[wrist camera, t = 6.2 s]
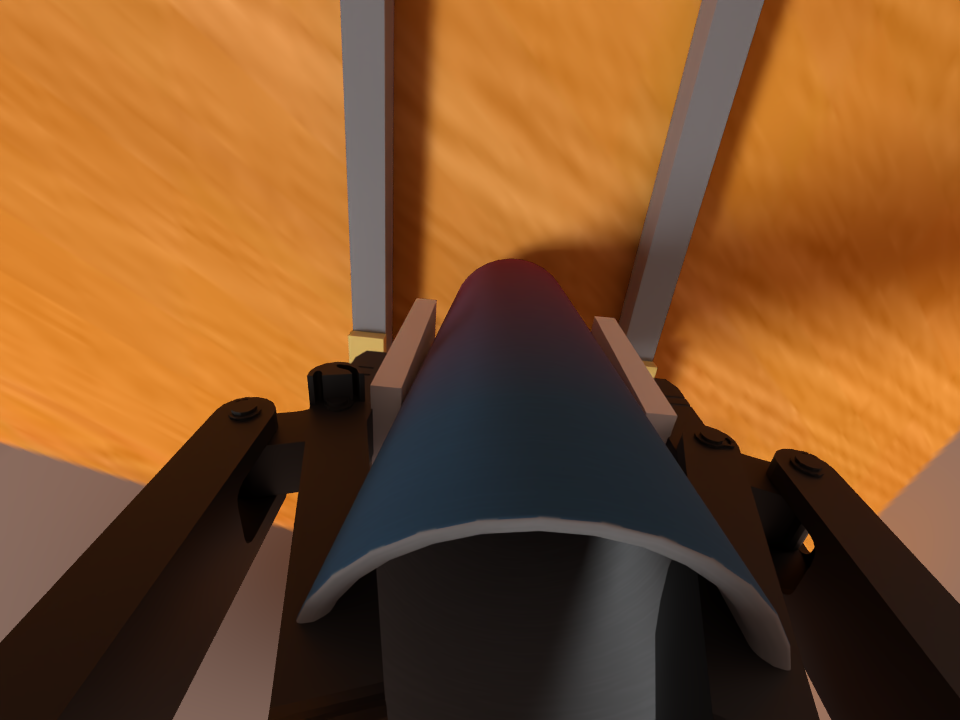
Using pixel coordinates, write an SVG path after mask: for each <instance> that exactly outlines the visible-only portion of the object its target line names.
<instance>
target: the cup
mask: <svg viewBox="0 0 960 720" xmlns="http://www.w3.org/2000/svg"><path fill="white" fill-rule="evenodd" d="M672 560H675V561H677V562H680V563H682V564H684V565H686V566H688V567H689V568H691V569H692V570H694V571H695V572H697V573H698V574H700V575H701V576H703V577H704V578H706V579H707V580H709V581H710V582H712V583H713V584H715V585H716V586H717V587H718V589H719V591H720V593H721V595H722V597H723V598H724V600H725V602H726V604H727V606H728V608H729V609H730V611H731V613H732V615H733V617H734V619H735V620H736V622H737V624H738V626H739V628H740V630H741V631H742V633H743V635H744V637H745V639H746V641H747V642H748V644H749V646H750V647H751V649H752V650H753V651H754V652H755V653H756V654H757V655H758V656H759V657H760V658H762V659H763V660H765V661H766V662H768V663H769V664H771V665H772V666H774V667H777V668H780V669H783V670H787V671H788V670H791V657H790V643H789V641H788V638H787V636H786V633H785V631H784V628H783V626H782V624H781V621H780V619H779V616H778V614H777V612H776V610H775V609H774V607H773V606H772V604H771V603H770V601H769V600H768V598H767V597H766V595H765V594H764V592H763V591H762V589H761V588H760V586H759V585H758V583H757V582H756V580H755V579H754V577H753V576H752V574H751V573H750V571H749V570H748V568H747V567H746V565H745V564H744V562H743V561H742V559H741V558H740V556H739V555H738V553H737V552H736V550H735V549H734V547H733V546H732V544H731V543H730V541H729V540H728V538H727V537H726V535H725V534H724V532H723V531H722V529H721V528H720V526H719V525H718V523H717V522H716V520H715V519H714V517H713V516H712V514H711V512H710V511H709V509H708V508H707V506H706V505H705V503H704V502H703V500H702V499H701V497H700V496H699V494H698V493H697V491H696V490H695V488H694V487H693V485H692V484H691V482H690V481H689V479H688V478H687V476H686V475H685V473H684V472H683V470H682V469H681V467H680V466H679V464H678V463H677V461H676V460H675V458H674V457H673V455H672V454H671V452H670V451H669V449H668V448H667V446H666V445H665V443H664V442H663V440H662V439H661V437H660V436H659V434H658V433H657V431H656V430H655V428H654V427H653V425H652V424H651V422H650V421H649V419H648V418H647V416H646V415H645V413H644V412H643V410H642V409H641V407H640V406H639V404H638V403H637V401H636V400H635V398H634V397H633V395H632V393H631V392H630V390H629V389H628V387H627V386H626V384H625V383H624V381H623V380H622V378H621V377H620V375H619V374H618V372H617V371H616V369H615V368H614V366H613V365H612V363H611V362H610V360H609V359H608V357H607V356H606V354H605V353H604V351H603V350H602V348H601V347H600V345H599V344H598V342H597V341H596V339H595V338H594V336H593V335H592V333H591V332H590V330H589V329H588V327H587V326H586V324H585V323H584V321H583V320H582V318H581V317H580V315H579V314H578V312H577V311H576V309H575V308H574V306H573V305H572V303H571V302H570V300H569V299H568V297H567V296H566V294H565V293H564V291H563V290H562V288H561V287H560V285H559V284H558V282H557V281H556V280H555V279H554V277H553V276H552V275H551V274H550V273H548V272H547V271H546V270H545V269H544V268H542V267H540V266H538V265H536V264H534V263H532V262H528V261H525V260H520V259H503V260H497V261H494V262H490V263H487V264H486V265H484V266H482V267H480V268H478V269H477V270H476V271H474V272H473V273H472V274H471V275H470V276H468V278H467V279H466V280H465V281H464V283H463V284H462V285H461V287H460V289H459V291H458V293H457V295H456V297H455V299H454V301H453V303H452V305H451V307H450V309H449V311H448V313H447V315H446V317H445V319H444V322H443V324H442V326H441V328H440V330H439V332H438V334H437V336H436V338H435V340H434V342H433V344H432V346H431V348H430V350H429V352H428V354H427V356H426V358H425V360H424V362H423V364H422V366H421V368H420V370H419V372H418V374H417V376H416V378H415V380H414V382H413V384H412V386H411V388H410V390H409V392H408V394H407V396H406V398H405V400H404V402H403V404H402V406H401V408H400V410H399V412H398V414H397V416H396V418H395V420H394V422H393V424H392V426H391V428H390V430H389V432H388V434H387V436H386V438H385V440H384V442H383V444H382V446H381V448H380V450H379V452H378V454H377V456H376V458H375V460H374V462H373V464H372V467H371V469H370V471H369V473H368V475H367V477H366V479H365V481H364V483H363V485H362V487H361V489H360V491H359V493H358V495H357V497H356V499H355V501H354V503H353V505H352V507H351V509H350V511H349V513H348V515H347V517H346V519H345V521H344V523H343V525H342V527H341V529H340V531H339V533H338V535H337V537H336V539H335V541H334V543H333V545H332V547H331V549H330V551H329V553H328V555H327V557H326V559H325V561H324V563H323V565H322V567H321V569H320V571H319V573H318V576H317V578H316V580H315V582H314V584H313V586H312V588H311V590H310V592H309V594H308V596H307V598H306V600H305V602H304V604H303V606H302V608H301V610H300V612H299V614H298V616H297V618H296V622H297V623H300V624H301V623H309V622H314V621H316V620H318V619H320V618H321V617H323V616H325V615H326V614H328V613H329V612H330V611H331V610H332V608H333V607H334V605H335V604H336V602H337V600H338V599H339V598H340V597H341V596H342V595H343V594H344V593H345V592H346V591H347V590H348V589H349V588H350V587H351V586H352V585H353V584H354V583H355V582H356V581H357V580H358V579H360V578H361V577H363V576H365V575H366V574H368V573H369V572H371V571H373V570H374V569H376V571H377V586H378V601H379V616H380V631H381V647H382V662H383V677H384V691H385V701H386V707H387V717H388V720H655V631H656V625H657V619H658V612H659V606H660V600H661V596H662V592H663V588H664V584H665V579H666V575H667V571H668V567H669V565H670V563H671V561H672Z"/></svg>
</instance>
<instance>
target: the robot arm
mask: <svg viewBox="0 0 960 720" xmlns="http://www.w3.org/2000/svg"><path fill="white" fill-rule="evenodd" d="M436 301H437V300H430V299H420V298H416V300H415V302H414V304H413V306H412V308H411V310H410V311H409V313H408V315H407V317H406V319H405V321H404V323H403V325H402V326H401V328H400V330H399V332H398V334H397V336H396V338H395V340H394V341H393V343H392V345H391V347H390V349H389V351H388V353H387V352H377V351H365V352H363V353H362V354H360V355H358V356H356V357H355V359H354V360H353V362H352V363H346V362H333V363H326V364H323V365H320V366H317V367H315V368H314V369H312V370H311V371H310V372H309V374H308V375H307V379H308V390H309V400H310V409H308V410H304V411H297V412H287V413H276V407H275V405H274V403H273V402H271V401H269V400H268V399H264V398H259V397H245V398H241V399H240V398H239V399H236V400H233V401H231V402H228V403H226V404H224V405H222V406H221V407H220V408H218V409H217V410H216V411H215V412H214V413H213V414H212V415H211V416H210V417H209V418H208V419H207V421H206V422H205V423H204V424H203V425H202V426H201V427H200V428H199V429H198V430H197V431H196V432H195V433H194V435H193V436H192V437H191V438H190V439H189V440H188V441H187V442H186V443H185V444H184V445H183V446H182V447H181V449H180V450H179V451H178V452H177V453H176V454H175V455H174V456H173V457H172V458H171V459H170V460H169V461H168V463H167V464H166V465H165V466H164V467H163V468H162V469H161V470H160V471H159V472H158V473H157V474H156V475H155V477H154V478H153V479H152V480H151V481H150V482H149V483H148V484H147V485H146V486H145V487H144V488H143V490H142V491H141V492H140V493H139V494H138V495H137V496H136V497H135V498H134V499H133V500H132V501H131V503H130V504H129V505H128V506H127V507H126V508H125V509H124V510H123V511H122V512H121V513H120V514H119V515H118V516H117V518H116V519H115V520H114V521H113V522H112V523H111V524H110V525H109V526H108V527H107V528H106V529H105V530H104V532H103V533H102V534H101V535H100V536H99V537H98V538H97V539H96V540H95V541H94V542H93V543H92V544H91V545H90V547H89V548H88V549H87V550H86V551H85V552H84V553H83V554H82V555H81V556H80V557H79V558H78V559H77V561H76V562H75V563H74V564H73V565H72V566H71V567H70V568H69V569H68V570H67V571H66V572H65V574H64V575H63V576H62V577H61V578H60V579H59V580H58V581H57V582H56V583H55V584H54V586H53V587H52V588H51V589H50V590H49V591H48V592H47V593H46V594H45V595H44V596H43V597H42V598H41V599H40V600H39V602H38V603H37V604H36V605H35V606H34V607H33V608H32V609H31V610H30V611H29V612H28V613H27V615H26V616H25V617H24V618H23V619H22V620H21V621H20V622H19V623H18V624H17V625H16V626H15V628H13V630H12V631H11V632H10V633H9V634H8V635H7V636H6V637H5V638H4V639H3V640H2V641H1V643H0V720H172V719H173V717H174V715H175V713H176V712H177V710H178V708H179V706H180V704H181V701H182V700H183V698H184V696H185V694H186V692H187V690H188V688H189V686H190V684H191V682H192V680H193V678H194V676H195V674H196V672H197V670H198V668H199V666H200V664H201V662H202V661H203V659H204V656H205V655H206V652H207V651H208V649H209V647H210V644H211V643H212V641H213V639H214V637H215V635H216V633H217V631H218V629H219V627H220V625H221V623H222V621H223V619H224V617H225V615H226V613H227V611H228V609H229V608H230V605H231V604H232V602H233V600H234V597H235V595H236V594H237V592H238V590H239V588H240V586H241V584H242V582H243V580H244V578H245V576H246V574H247V572H248V570H249V568H250V566H251V564H252V562H253V560H254V558H255V557H256V554H257V553H258V551H259V549H260V547H261V545H262V543H263V541H264V539H265V536H266V535H267V533H268V531H269V529H270V527H271V525H272V523H273V521H274V519H275V517H276V515H277V513H278V511H279V509H280V507H281V505H282V504H283V502H284V500H285V498H286V494H287V493H294V492H298V500H297V507H296V515H295V522H294V530H293V537H292V545H291V553H290V560H289V568H288V575H287V583H286V590H285V598H284V606H283V613H282V620H281V628H280V635H279V643H278V651H277V658H276V666H275V673H274V681H273V689H272V696H271V703H270V710H269V717H268V720H388V717H387V707H386V701H385V691H384V677H383V662H382V647H381V631H380V616H379V601H378V586H377V571H376V569H374V570H373V571H371V572H369V573H368V574H366V575H365V576H363V577H361V578H360V579H358V580H357V581H356V582H355V583H354V584H353V585H352V586H351V587H350V588H349V589H348V590H347V591H346V592H345V593H344V594H343V595H342V596H341V597H340V598H339V599H338V600H337V602H336V604H335V605H334V607H333V608H332V610H331V611H330V612H329V613H328V614H326V615H325V616H323V617H321V618H320V619H318V620H316V621H314V622H309V623H301V624H300V623H297V622H296V618H297V616H298V614H299V612H300V610H301V608H302V606H303V604H304V602H305V600H306V598H307V596H308V594H309V592H310V590H311V588H312V586H313V584H314V582H315V580H316V578H317V576H318V573H319V571H320V569H321V567H322V565H323V563H324V561H325V559H326V557H327V555H328V553H329V551H330V549H331V547H332V545H333V543H334V541H335V539H336V537H337V535H338V533H339V531H340V529H341V527H342V525H343V523H344V521H345V519H346V517H347V515H348V513H349V511H350V509H351V507H352V505H353V503H354V501H355V499H356V497H357V495H358V493H359V491H360V489H361V487H362V485H363V483H364V481H365V479H366V477H367V475H368V473H369V471H370V461H371V459H372V464H373V462H374V460H375V458H376V456H377V454H378V452H379V450H380V448H381V446H382V444H383V442H384V440H385V438H386V436H387V434H388V432H389V430H390V428H391V426H392V424H393V422H394V420H395V418H396V416H397V414H398V412H399V410H400V408H401V406H402V404H403V402H404V400H405V398H406V396H407V394H408V392H409V390H410V388H411V386H412V384H413V382H414V380H415V378H416V376H417V374H418V372H419V370H420V368H421V366H422V364H423V362H424V360H425V358H426V356H427V354H428V352H429V350H430V348H431V346H432V344H433V342H434V340H435V322H436ZM591 333H592V335H593V336H594V338H595V339H596V341H597V342H598V344H599V345H600V347H601V348H602V350H603V351H604V353H605V354H606V356H607V357H608V359H609V360H610V362H611V363H612V365H613V366H614V368H615V369H616V371H617V372H618V374H619V375H620V377H621V378H622V380H623V381H624V383H625V384H626V386H627V387H628V389H629V390H630V392H631V393H632V395H633V397H634V398H635V400H636V401H637V403H638V404H639V406H640V407H641V409H642V410H643V412H644V413H645V415H646V416H647V418H648V419H649V421H650V422H651V424H652V425H653V427H654V428H655V430H656V431H657V433H658V434H659V436H660V437H661V439H662V440H663V442H664V443H665V445H666V446H667V448H668V449H669V451H670V452H671V454H672V455H673V457H674V458H675V460H676V461H677V463H678V464H679V466H680V467H681V469H682V470H683V472H684V473H685V475H686V476H687V478H688V479H689V481H690V482H691V484H692V485H693V487H694V488H695V490H696V491H697V493H698V494H699V496H700V497H701V499H702V500H703V502H704V503H705V505H706V506H707V508H708V509H709V511H710V512H711V514H712V516H713V517H714V519H715V520H716V522H717V523H718V525H719V526H720V528H721V529H722V531H723V532H724V534H725V535H726V537H727V538H728V540H729V541H730V543H731V544H732V546H733V547H734V549H735V550H736V552H737V553H738V555H739V556H740V558H741V559H742V561H743V562H744V564H745V565H746V567H747V568H748V570H749V571H750V573H751V574H752V576H753V577H754V579H755V580H756V582H757V583H758V585H759V586H760V588H761V589H762V591H763V592H764V594H765V595H766V597H767V598H768V600H769V601H770V603H771V604H772V606H773V607H774V609H775V610H776V612H777V614H778V616H779V619H780V621H781V624H782V626H783V628H784V631H785V633H786V636H787V638H788V641H789V643H790V657H791V670H788V671H787V670H783V669H780V668H777V667H774V666H772V665H771V664H769V663H768V662H766V661H765V660H763V659H762V658H760V657H759V656H758V655H757V654H756V653H755V652H754V651H753V650H752V649H751V647H750V646H749V644H748V642H747V641H746V639H745V637H744V635H743V633H742V631H741V630H740V628H739V626H738V624H737V622H736V620H735V619H734V617H733V615H732V613H731V611H730V609H729V608H728V606H727V604H726V602H725V600H724V598H723V597H722V595H721V593H720V591H719V589H718V587H717V586H716V585H715V584H713V583H712V582H710V581H709V580H707V579H706V578H704V577H703V576H701V575H700V574H698V573H697V572H695V571H694V570H692V569H691V568H689V567H688V566H686V565H684V564H682V563H680V562H677V561H675V560H672V561H671V563H670V565H669V567H668V571H667V575H666V579H665V584H664V588H663V592H662V596H661V600H660V606H659V612H658V619H657V625H656V631H655V720H820V719H819V716H818V712H817V709H816V706H815V702H814V699H813V696H812V692H811V689H810V685H809V682H808V679H807V675H806V672H807V674H808V676H809V678H810V680H811V681H812V684H813V685H814V687H815V689H816V691H817V693H818V695H819V697H820V699H821V701H822V703H823V705H824V707H825V708H826V710H827V712H828V714H829V716H830V718H831V720H960V604H959V603H958V602H957V601H956V600H955V599H954V597H953V596H952V595H951V594H950V593H949V592H948V591H947V590H946V589H945V588H944V587H943V586H942V585H941V583H939V581H938V580H937V579H936V578H935V577H934V576H933V575H932V574H931V573H930V572H929V571H928V570H927V568H926V567H925V566H924V565H923V564H922V563H921V562H920V561H919V560H918V559H917V558H916V557H915V556H914V554H912V552H911V551H910V550H909V549H908V548H907V547H906V546H905V545H904V544H903V543H902V542H901V540H900V539H899V538H898V537H897V536H896V535H895V534H894V533H893V532H892V531H891V530H890V529H889V528H888V527H887V525H886V524H885V523H884V522H883V521H882V520H881V519H880V518H879V517H878V516H877V515H876V514H875V513H874V511H873V510H872V509H871V508H870V507H869V506H868V505H867V504H866V503H865V502H864V501H863V500H862V499H861V498H860V496H859V495H858V494H857V493H856V492H855V491H854V490H853V489H852V488H851V487H850V486H849V485H848V484H847V482H846V481H845V480H844V479H843V478H842V477H841V476H840V475H839V474H838V473H837V472H836V471H835V470H834V469H833V468H832V467H831V466H829V465H828V464H827V463H826V462H824V461H822V460H820V459H819V458H818V457H816V456H814V455H812V454H808V453H807V452H804V451H798V450H794V449H781V450H778V451H776V453H775V455H774V457H773V459H772V461H771V462H768V461H765V460H761V459H758V458H754V457H751V456H747V455H744V454H741V453H740V449H739V447H738V445H737V443H736V442H735V441H734V440H733V439H732V438H731V437H729V436H728V435H727V434H725V433H723V432H721V431H719V430H717V429H714V428H711V427H708V426H705V425H704V424H703V422H702V421H701V419H700V418H699V417H698V415H697V414H696V413H695V411H694V410H693V408H692V407H690V404H689V403H688V401H687V400H686V399H684V398H685V397H684V396H683V394H682V393H681V392H680V390H679V389H678V388H677V387H676V386H674V385H673V384H672V383H670V382H669V381H667V380H666V379H658V378H653V377H652V376H651V374H650V372H649V371H648V369H647V368H646V366H645V365H644V363H643V362H642V360H641V358H640V357H639V355H638V354H637V352H636V351H635V349H634V348H633V346H632V344H631V343H630V341H629V340H628V338H627V337H626V335H625V334H624V332H623V331H622V329H621V327H620V326H619V324H618V323H617V321H616V320H615V318H608V317H599V316H594V321H593V325H592V330H591ZM808 534H810V536H811V538H812V540H813V542H814V546H815V548H814V549H813V551H812V552H811V553H810V552H809V551H808V550H807V548H806V547H805V545H804V544H803V542H804V540H805V539H806V537H807V535H808ZM804 668H805V669H804ZM805 670H806V672H805Z"/></svg>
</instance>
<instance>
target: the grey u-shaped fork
mask: <svg viewBox="0 0 960 720" xmlns="http://www.w3.org/2000/svg"><path fill="white" fill-rule="evenodd" d="M763 3H764V0H702V3H701V6H700V10H699V14H698V18H697V22H696V26H695V30H694V34H693V37H692V41H691V45H690V49H689V53H688V57H687V61H686V64H685V68H684V72H683V76H682V80H681V84H680V88H679V92H678V95H677V99H676V103H675V107H674V111H673V115H672V119H671V122H670V126H669V130H668V134H667V138H666V142H665V146H664V150H663V153H662V157H661V161H660V165H659V169H658V173H657V177H656V180H655V184H654V188H653V192H652V196H651V200H650V204H649V208H648V211H647V215H646V219H645V223H644V227H643V231H642V235H641V239H640V242H639V246H638V250H637V254H636V258H635V262H634V266H633V269H632V273H631V277H630V281H629V285H628V289H627V293H626V297H625V300H624V304H623V308H622V312H621V316H620V320H619V326H620V327H621V329H622V331H623V332H624V334H625V335H626V337H627V338H628V340H629V341H630V343H631V344H632V346H633V348H634V349H635V351H636V352H637V354H638V355H639V357H640V358H641V360H642V362H643V363H644V365H645V366H646V368H647V369H648V371H649V372H650V374H651V376H652V377H653V378H654V377H655V374H656V371H657V366H656V365H655V363H654V362H652V361H653V358H654V355H655V352H656V348H657V345H658V342H659V339H660V335H661V332H662V329H663V326H664V322H665V319H666V316H667V313H668V310H669V306H670V303H671V300H672V297H673V293H674V290H675V287H676V284H677V281H678V277H679V274H680V271H681V268H682V264H683V261H684V258H685V255H686V251H687V248H688V245H689V242H690V239H691V235H692V232H693V229H694V226H695V222H696V219H697V216H698V213H699V209H700V206H701V203H702V200H703V197H704V193H705V190H706V187H707V184H708V180H709V177H710V174H711V171H712V167H713V164H714V161H715V158H716V155H717V151H718V148H719V145H720V142H721V138H722V135H723V132H724V129H725V126H726V122H727V119H728V116H729V113H730V109H731V106H732V103H733V100H734V96H735V93H736V90H737V87H738V84H739V80H740V77H741V74H742V71H743V67H744V64H745V61H746V58H747V54H748V51H749V48H750V45H751V42H752V38H753V35H754V32H755V29H756V25H757V22H758V19H759V16H760V13H761V9H762V6H763ZM340 7H341V32H342V58H343V83H344V109H345V134H346V160H347V185H348V211H349V236H350V262H351V288H352V313H353V330H352V331H351V332H350V334H349V335H348V344H349V363H352V362H353V360H354V359H355V357H356V356H358V355H360V354H362V353H363V352H365V351H377V352H387V353H388V351H389V349H390V347H391V345H392V313H393V119H394V0H340ZM371 467H372V459H371V461H370V469H371Z"/></svg>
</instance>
